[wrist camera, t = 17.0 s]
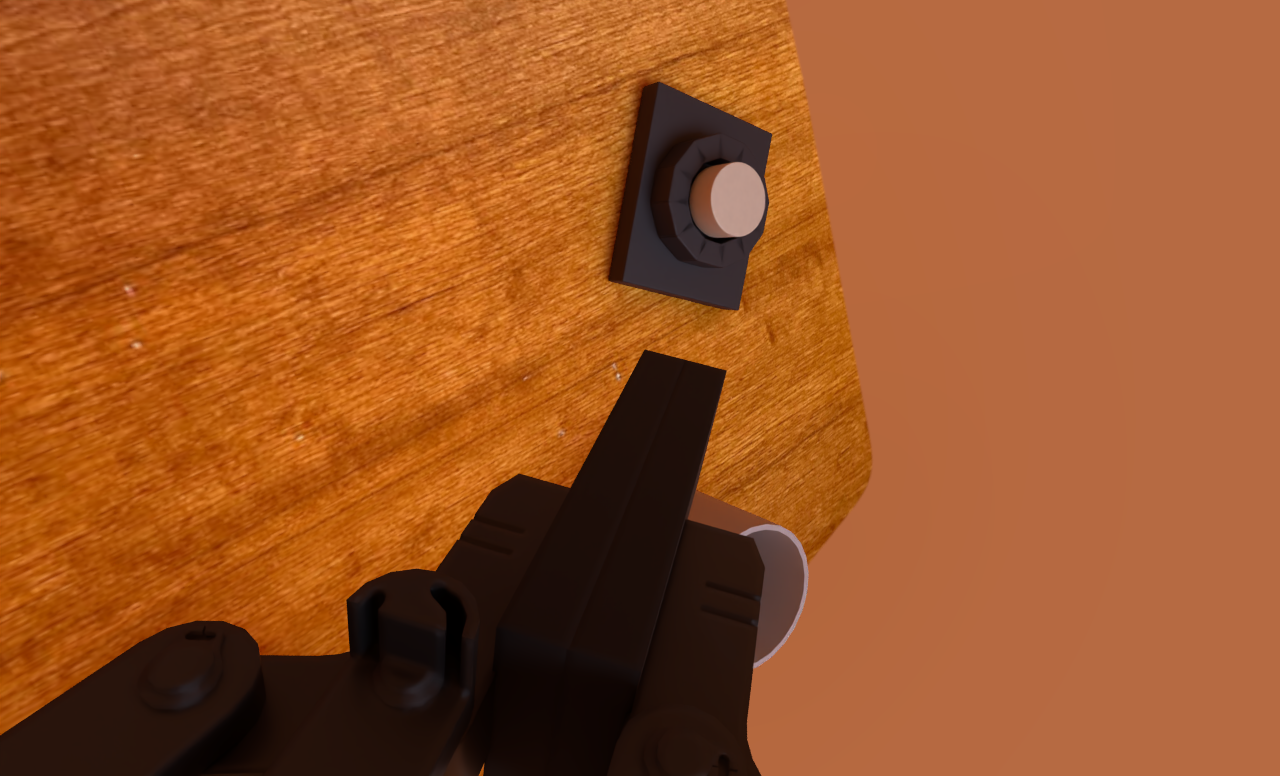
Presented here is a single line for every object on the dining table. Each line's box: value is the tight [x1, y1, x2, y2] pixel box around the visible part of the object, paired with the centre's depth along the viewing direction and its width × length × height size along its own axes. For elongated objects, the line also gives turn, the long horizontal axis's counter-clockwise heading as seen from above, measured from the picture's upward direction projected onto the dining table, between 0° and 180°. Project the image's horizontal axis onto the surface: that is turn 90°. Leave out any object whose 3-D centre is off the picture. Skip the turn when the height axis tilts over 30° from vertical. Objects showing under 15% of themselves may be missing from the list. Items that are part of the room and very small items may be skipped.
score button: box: [689, 162, 765, 238], centre depth 36 cm, size 4×4×2 cm
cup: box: [688, 490, 808, 668], centre depth 37 cm, size 7×10×9 cm
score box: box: [609, 82, 772, 310], centre depth 38 cm, size 10×8×3 cm
